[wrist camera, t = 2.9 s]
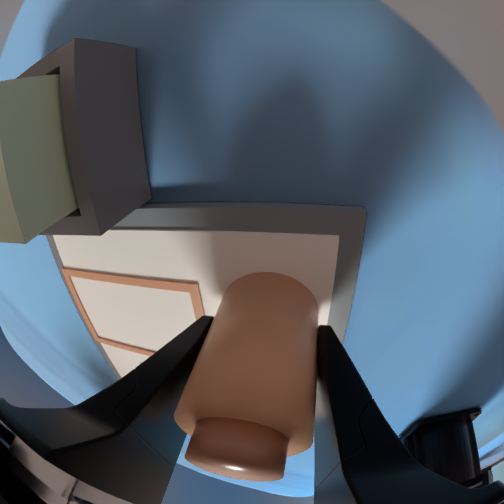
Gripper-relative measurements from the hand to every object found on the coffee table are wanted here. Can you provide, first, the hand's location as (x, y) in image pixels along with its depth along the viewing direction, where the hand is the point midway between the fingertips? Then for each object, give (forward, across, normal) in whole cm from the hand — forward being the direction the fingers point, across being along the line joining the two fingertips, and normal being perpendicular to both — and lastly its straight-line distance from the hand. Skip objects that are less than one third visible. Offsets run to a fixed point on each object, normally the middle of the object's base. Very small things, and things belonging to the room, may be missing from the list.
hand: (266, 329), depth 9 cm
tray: (+2, +4, +3) cm, 5 cm away
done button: (0, +7, -7) cm, 10 cm away
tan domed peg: (+1, 0, 0) cm, 1 cm away
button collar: (+2, +7, -7) cm, 10 cm away
